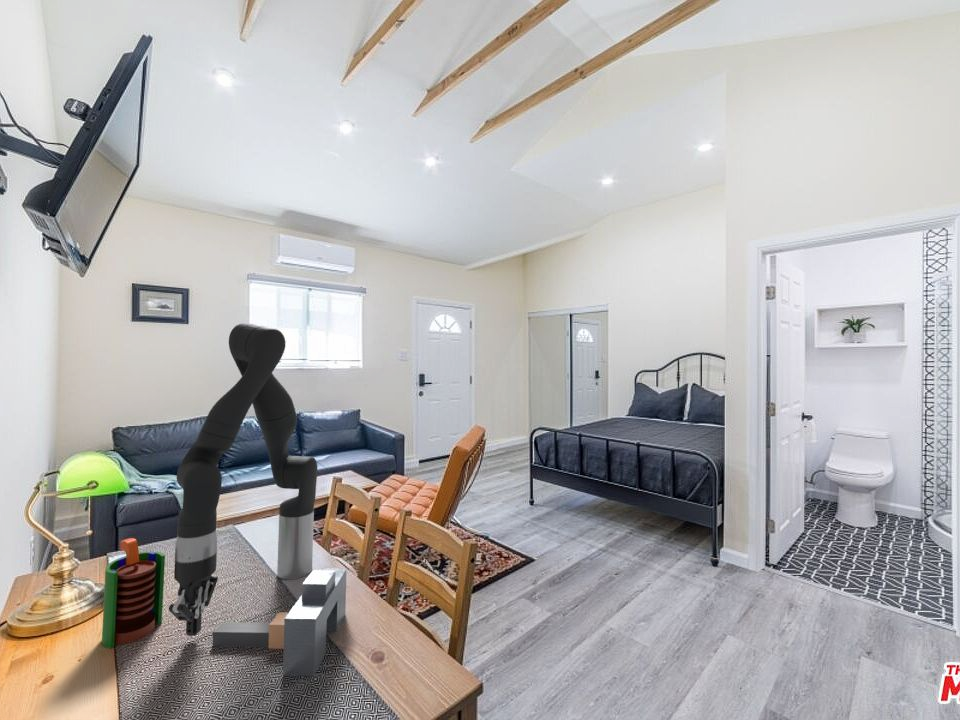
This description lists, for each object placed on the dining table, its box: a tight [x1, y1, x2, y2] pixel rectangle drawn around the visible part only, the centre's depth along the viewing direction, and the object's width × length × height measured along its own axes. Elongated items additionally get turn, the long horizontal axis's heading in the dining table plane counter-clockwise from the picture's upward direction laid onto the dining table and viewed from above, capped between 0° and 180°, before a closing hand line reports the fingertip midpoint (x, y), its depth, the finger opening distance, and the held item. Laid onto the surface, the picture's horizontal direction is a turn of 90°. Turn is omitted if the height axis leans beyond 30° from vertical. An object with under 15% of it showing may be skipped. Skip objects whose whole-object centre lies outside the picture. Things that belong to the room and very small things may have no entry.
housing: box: [282, 567, 348, 677], centre depth 90 cm, size 6×20×14 cm, turn 1°
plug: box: [212, 611, 290, 650], centre depth 90 cm, size 17×4×5 cm, turn 91°
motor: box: [101, 537, 166, 649], centre depth 92 cm, size 10×9×20 cm
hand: (193, 633), depth 90 cm, fingers closed
